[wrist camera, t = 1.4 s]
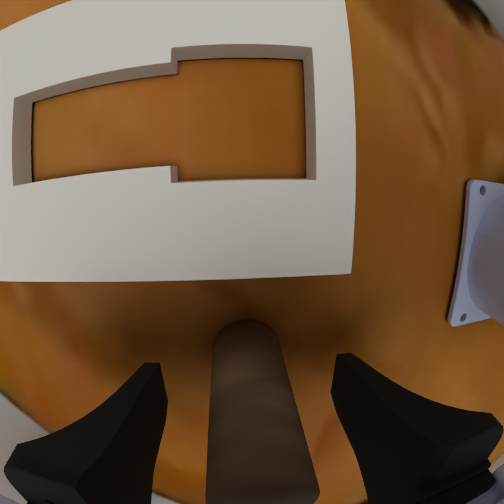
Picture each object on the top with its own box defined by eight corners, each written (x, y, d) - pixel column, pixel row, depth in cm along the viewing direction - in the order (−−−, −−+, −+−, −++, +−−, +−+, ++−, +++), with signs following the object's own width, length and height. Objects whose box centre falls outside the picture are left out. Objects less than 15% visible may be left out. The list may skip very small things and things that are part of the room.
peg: (279, 318, 14) (327, 467, 6) (278, 372, 14) (312, 515, 7) (211, 321, 13) (198, 476, 6) (216, 375, 14) (212, 522, 6)
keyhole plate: (331, -2, 10) (341, -17, 8) (338, 262, 13) (351, 273, 12) (6, 43, 9) (-10, 35, 7) (8, 270, 12) (-9, 280, 11)
